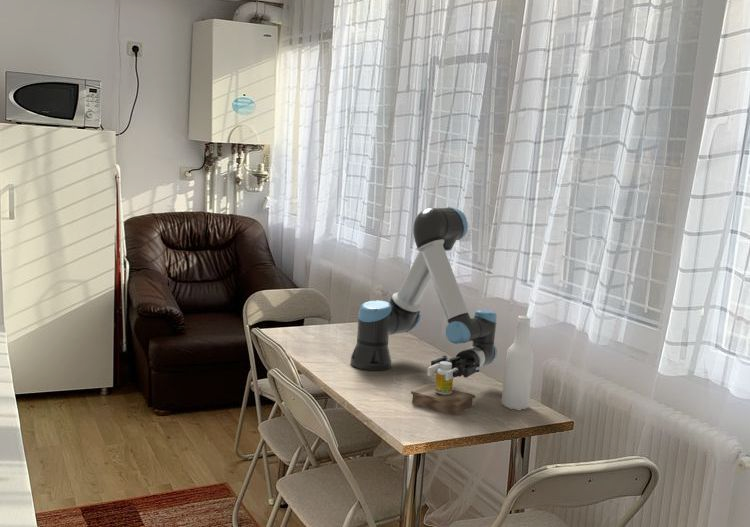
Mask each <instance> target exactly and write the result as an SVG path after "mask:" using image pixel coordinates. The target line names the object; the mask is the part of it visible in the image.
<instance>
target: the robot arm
mask: <svg viewBox="0 0 750 527" xmlns="http://www.w3.org/2000/svg"><path fill="white" fill-rule="evenodd" d="M413 222H414V223H413V229H412V230H413V238H414V242H415V246H416V249H417V251H418V253H417V255H416V257H415V259H414V260H413V263H412V264H411V267H410V269H409V271H408V273H407V275H406V277H405V279H404V281H403V282H402V285H401V287H400V289H399V291H398V292H394V293H392V295H391V298H390V299H389V301H385V300H369V301H365V302H363V303H361V305H360V306H359V312H358V316H357V317H358V322H357V334H356V335H357V336H356V337H357V338H356V345H355V346H354V349H353V351H352V353H351V357H350V365H351V366H352V367H354V368H356V369H359V370H360V369H361V370H365V371H385V370H388V369H390V368H392V358H391V357H392V356H391V354H390V353H391V352H390V348H389V338H390V336H392V335H397V334H404V333H408V332H410V331H413V330H414V329H416V328H417V326H418V325H419V324H420V321H421V305H420V301H421V299H422V297H423V296H424V294H425V291H427V287H428V286H429V284H430V282H431V281H432V283H433V285H434V288H435V291H436V293H437V297H438V300H439V301H440V304H441V306H442V307H441V308H442V309H443V312H444V315H445V318H446V319H447V323H448V324H447V326H446V327H445V336H446V339H447V340H448V341H449V342H450V343H451V344H456V345H459V344H466V343H469V342H472V344H471V347H468V348H465V349H464V350H462V351H459V352H458V353H457V354H456V355H455V356H454V357H451V358H448V356H447V355H442V357H439V358H436V359H433V360H431V362H430V366H428V368H427V372H426V373H427V375H426V376H428V377H430V376H433V375H436V373H437V369H439V368H440V367H439V363H440V362H441V361H447V362H451V363H452V368H451V370H449V371H447V372H446V378H445V380H447V381H448V380H450V379H452V378H453V379H455V378H457V377H459V378H460V377H462V376H463V378H468V377H470V376H472V375H474V374H475V373H479V372H480V368H482V367H484V366H487V365H489V364H491V363H492V362H493V361H495V360H496V359H497V356H498V348H497V347H496V345H495V339H496V338H495V336H496V328H497V313H496V312H495V311H494V310H490V309H484V308H483V309H481V308H480V309H477V310H476V311H475V313H474V315H473V317H471V316H470V314H469V312H468V309H467V308H468V307H467V306H466V303H465V300H464V298H463V295H462V293H461V290H460V287H459V284H458V282H457V279H456V277H455V274H454V271H453V268H452V266H451V263H450V261H449V257H448V254H447V252H448V251H449V252H450V251H451V250H452V249H453V247H454V245H455V243H456V242H457V241H459V240H461V239H463V238H464V237H465V236H466V234H467V233H468V228H469V227H468V226H469V223H468V220H467V216H466V215H465V214H464V212H463V211H462V210H460V209H458V208H456V207H449V206H448V207H428V208H425V209H423V210H421V211H420V212H419V213H418V214H417V216H416V217H415V219H414V221H413Z"/></svg>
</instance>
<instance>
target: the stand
mask: <svg viewBox="0 0 750 527" xmlns="http://www.w3.org/2000/svg"><path fill="white" fill-rule="evenodd" d="M435 385H436V384H434V383H429V382H428V383H426V384H424V385H422V386H419V387H417V388H415V389H413V390H411V391H410V394H411V395H412V397H411V398H412V401H411V404H414V405H416V406H417V405H418V406H420V407H421V406H422V407H424V408H428V409H432V410H434V411H435V410H436V411H439V412H442V413H446V414H450V415H453V416H459V415H460V414H462V413H464V412H465V411H467V409H468V410H469V409H471V408H473V399H475V398H476V394H474V393H473V394H472V393H468V392H465V391H461V390H457V389H453V388H452V393H451V394H447V395H444V394H439V393H436V392H435Z"/></svg>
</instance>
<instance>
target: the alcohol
mask: <svg viewBox="0 0 750 527" xmlns="http://www.w3.org/2000/svg"><path fill="white" fill-rule="evenodd" d="M531 319H532V317H530V316H528V315H518V319H517V326H516V332H515V337H514V341H513V343H512V344H511V345H510V346H509V347H508V348H507V351H506V354H505V355H506V358H505V359H506V360H505V366H504V375H503V385H502V395H501V404H502V406H503V405H504V406H505V407H504V406H503V407H504V408H506V407H508V408H507V409H509V408H512V409H511V410H513V409H524V410H526V409H528V407H529V405H530V397H531V390H532V389H531V388H532V378H533V371H534V370H533V369H534V363H535V362H534V360H535V354H534V350H533V349H532V347H531V345H530V330H531V329H530V328H531V327H530V326H531V324H530V323H531ZM525 408H526V409H525Z"/></svg>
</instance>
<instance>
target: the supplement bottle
mask: <svg viewBox="0 0 750 527" xmlns="http://www.w3.org/2000/svg"><path fill="white" fill-rule="evenodd" d="M439 367H440V368H439V369H437V373H435V375H436V376H435V384H434V385H435V392H436V393H439V394H444V395H447V394H451V393H452V389H453V383H454V382H453V381H454V378H452V379H450V380H448V381H447V380H445V378H446V372H447V371H449V370H451V368H452V363H451V362H447V361H441V362H440V363H439Z"/></svg>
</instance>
